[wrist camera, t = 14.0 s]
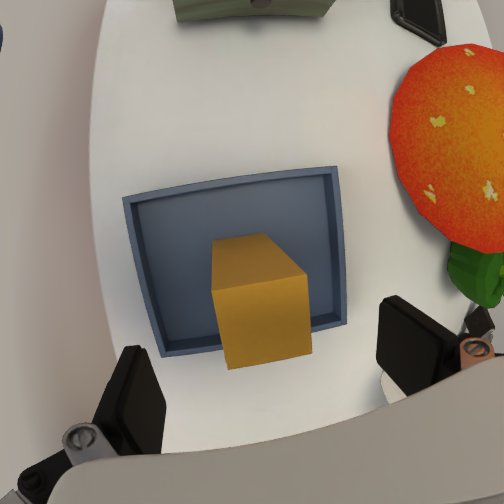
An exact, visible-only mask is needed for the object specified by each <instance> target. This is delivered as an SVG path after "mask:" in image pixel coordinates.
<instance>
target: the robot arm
mask: <svg viewBox="0 0 504 504" xmlns="http://www.w3.org/2000/svg"><path fill="white" fill-rule="evenodd" d="M457 340H458V336H457V335H455V334H454V333H452V332H451V331H449V330H448V329H447V328H445V327H444V326H442V325H441V324H439V323H438V322H436V321H435V320H433V319H432V318H431V317H429V316H428V315H426V314H425V313H423V312H422V311H420V310H419V309H417V308H416V307H414V306H413V305H411V304H410V303H408V302H407V301H405V300H404V299H402V298H401V297H399V296H397V295H394V296H390V297H387V298H384V299H383V301H382V303H380V305H379V322H378V338H377V350H376V360H377V363H378V364H379V366H380V367H381V368H382V369H383V370H384V371H385V372H386V373H387V375H388V376H389V377H390V378H391V379H392V380H393V381H394V383H395V384H396V385H397V386H398V387H399V388H400V389H401V390H402V392H403V393H404V394H405V395H406V396H407V397H406V398H404V399H401V400H399V401H396V402H394V403H392V404H389V405H387V406H384V407H382V408H379V409H376V410H374V411H371V412H368V413H365V414H363V415H360V416H357V417H354V418H351V419H348V420H345V421H342V422H339V423H336V424H332V425H329V426H326V427H322V428H319V429H315V430H311V431H308V432H304V433H300V434H296V435H292V436H287V437H283V438H278V439H274V440H269V441H264V442H259V443H254V444H248V445H242V446H236V447H229V448H221V449H213V450H204V451H194V452H182V453H166V454H161V448H162V440H163V431H164V423H165V416H166V401H165V398H164V396H163V393H162V391H161V388H160V386H159V383H158V381H157V378H156V375H155V373H154V370H153V367H152V365H151V362H150V359H149V356H148V353H147V351H146V349H145V348H141V346H140V345H134V346H125V347H124V349H123V352H122V354H121V356H120V358H119V361H118V363H117V365H116V367H115V370H114V372H113V374H112V377H111V379H110V381H109V382H108V383H107V386H106V388H105V391H104V393H103V395H102V398H101V400H100V403H99V406H98V408H97V410H96V413H95V415H94V418H93V420H92V423H79V424H76V425H74V426H72V427H70V428H69V429H68V430H67V431H66V432H65V434H64V435H63V439H62V444H63V447H64V449H63V450H61V451H60V452H58V453H56V454H54V455H52V456H50V457H49V458H47V459H45V460H43V461H41V462H39V463H37V464H35V465H33V466H31V467H29V468H27V469H26V470H24V471H23V472H22V473H21V474H20V476H19V478H18V483H17V485H18V490H17V491H16V492H15V491H14V490H13V489H12V490H11V491H10V492H9V493H8V494H7V495H5V496H4V497H3V498H2V499H1V500H0V504H504V354H500V353H494V349H493V346H492V344H491V343H490V342H488V341H487V340H485V339H482V338H477V337H472V338H467V339H465V340H463V341H462V342H461V344H460V345H459V344H458V343H457Z"/></svg>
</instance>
